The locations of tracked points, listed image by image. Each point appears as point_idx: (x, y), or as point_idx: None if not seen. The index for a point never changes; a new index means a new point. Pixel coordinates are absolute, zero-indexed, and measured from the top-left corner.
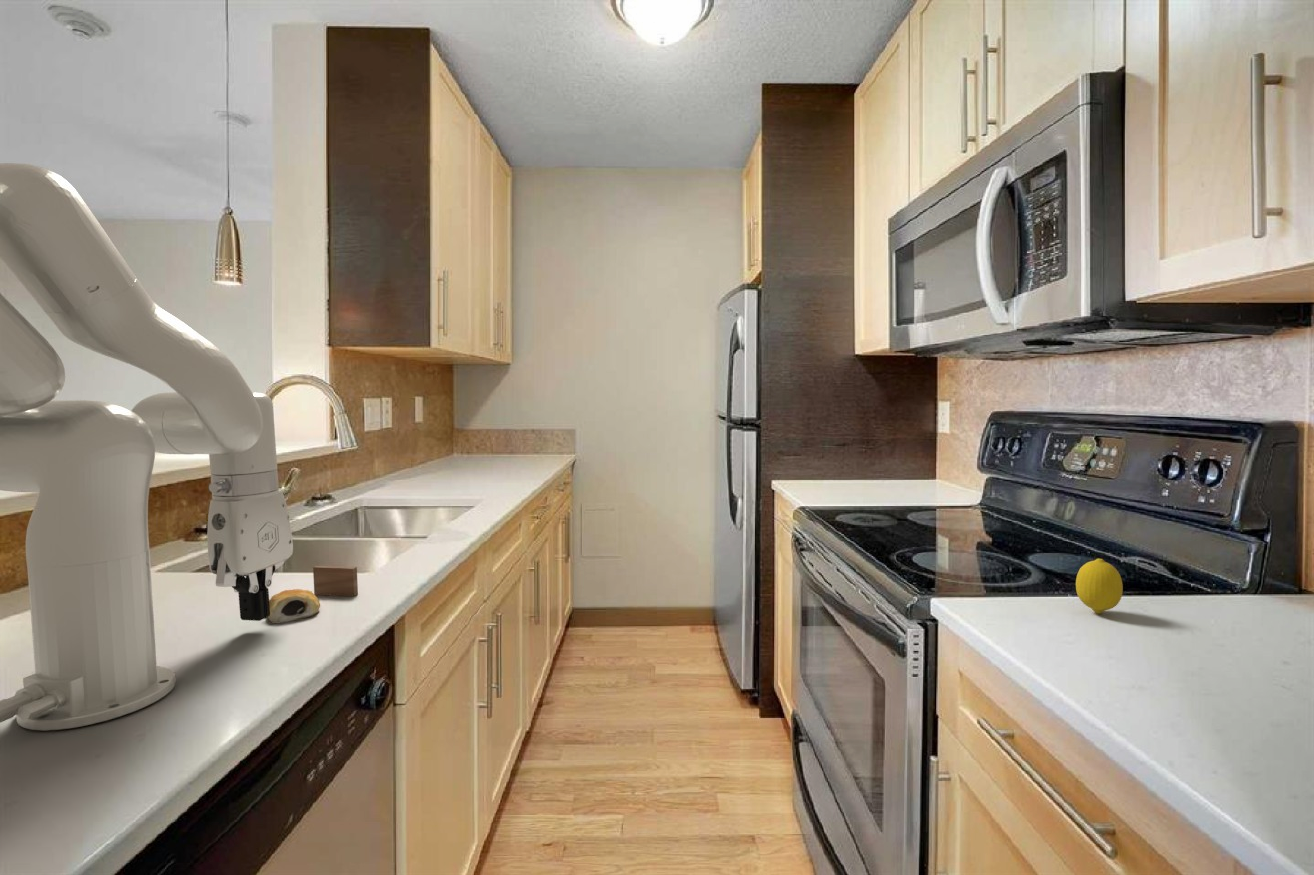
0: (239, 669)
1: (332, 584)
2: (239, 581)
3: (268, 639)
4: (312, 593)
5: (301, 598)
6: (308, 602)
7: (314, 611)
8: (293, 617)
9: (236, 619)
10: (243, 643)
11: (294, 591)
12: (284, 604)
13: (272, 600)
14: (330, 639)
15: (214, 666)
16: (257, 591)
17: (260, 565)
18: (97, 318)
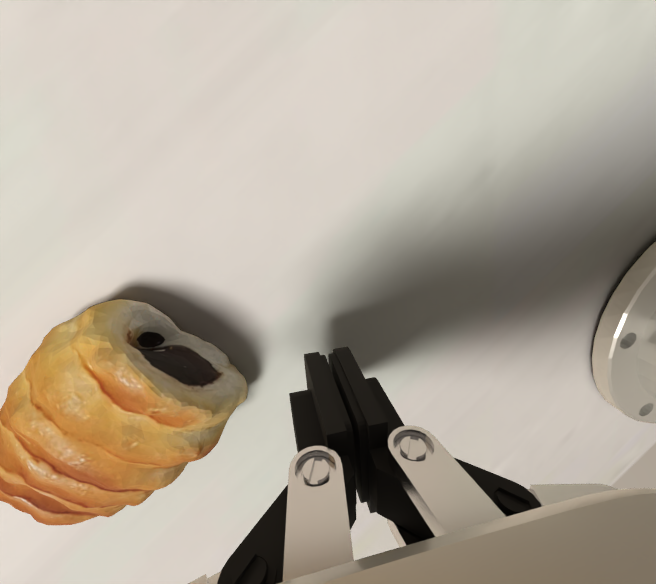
0: (578, 158)
1: None
2: (534, 501)
3: (367, 268)
4: (19, 405)
5: (139, 362)
6: (122, 333)
7: (121, 299)
8: (191, 339)
9: (247, 484)
10: (405, 313)
11: (96, 447)
12: (200, 390)
13: (202, 450)
14: (329, 12)
15: (552, 248)
16: (383, 435)
17: (570, 553)
18: None
